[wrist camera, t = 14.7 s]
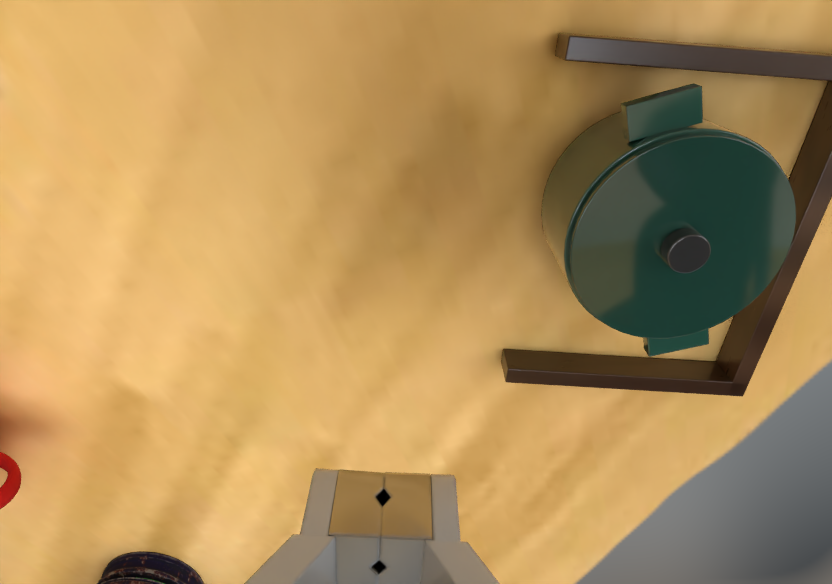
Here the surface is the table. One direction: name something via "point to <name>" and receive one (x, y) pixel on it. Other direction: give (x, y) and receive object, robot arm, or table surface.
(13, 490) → the ceramic cup
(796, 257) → the frame
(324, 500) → the robot arm
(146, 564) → the storage jar
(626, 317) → the pot
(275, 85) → the table surface
